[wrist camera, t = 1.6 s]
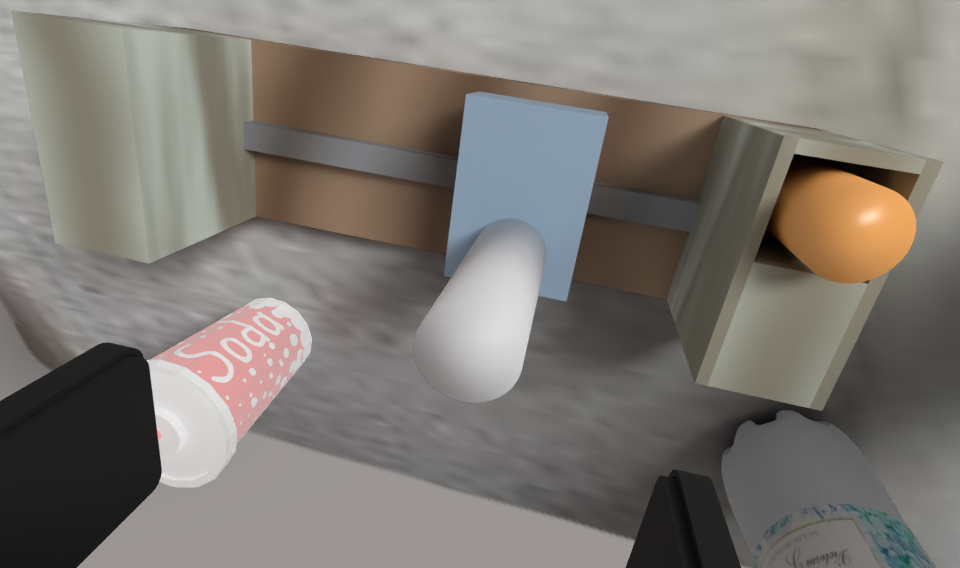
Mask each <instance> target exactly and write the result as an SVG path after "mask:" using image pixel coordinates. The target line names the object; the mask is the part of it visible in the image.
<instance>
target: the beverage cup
mask: <svg viewBox="0 0 960 568" xmlns="http://www.w3.org/2000/svg"><path fill="white" fill-rule="evenodd" d="M311 343H312V337H311V334H310V331H309V327H308V325H307V323H306V322H305V320H304V319H303V318H302V316H301V315H300V314H299V312H298V311H296V310H295V309H294V308H292V307H291V306H289V305H288V304H287V303H285V302H282V301H279V300H276V299H272V298H262V299H255V300H254V301H252V302H250V303H248V304H247V305H245V306H243V307H241V308H240V309H238V310H236V311H234V312H233V313H231V314H229V315H227V316H226V317H224V318H222V319H220V320H219V321H217V322H215V323H213V324H212V325H210V326H208V327H206V328H205V329H203V330H201V331H199V332H198V333H196V334H194V335H192V336H191V337H189V338H187V339H185V340H184V341H182V342H180V343H178V344H177V345H175V346H173V347H171V348H170V349H168V350H166V351H164V352H163V353H161V354H159V355H157V356H156V357H154V358H152V359H150V360H146V361H147V362H148V364H149V368H150V376H151V385H152V393H153V401H154V409H155V417H156V426H157V434H158V442H159V450H160V459H161V467H162V474H161V478H160V481H159V482H160V483H163V484H166V485H169V486H172V487H190V488H191V487H192V488H194V487H195V488H197V487H199V486H201V485H204V484H206V483H208V482H210V481H212V480H214V479H216V477H217V476H218V475H219V474H220V473H221V471H222V470H223V468H224V467H225V466H226V465H227V464H228V462H229V461H230V459H231V458H232V456H233V455H234V453H235V452H236V445H237V443H238V442H239V441H240V440H241V438H242V437H243V436H244V435H245V434H246V432H247V431H248V430H249V429H250V427H251V426H252V425H253V424H254V423H255V421H256V420H257V419H258V418H259V416H260V415H261V414H262V413H263V412H264V410H265V409H266V408H267V407H268V405H269V404H270V403H271V402H272V400H273V399H274V398H275V397H276V396H277V394H278V393H279V392H280V391H281V389H282V388H283V387H284V386H285V385H286V383H287V382H288V381H289V380H290V378H291V377H292V376H293V375H294V374H295V372H296V371H297V370H298V369H299V367H300V366H301V365H302V364H303V362H304V361H305V360H306V358H307V357H308V355H309V354H310V352H311Z"/></svg>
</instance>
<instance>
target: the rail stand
mask: <svg viewBox="0 0 960 568" xmlns="http://www.w3.org/2000/svg"><path fill="white" fill-rule="evenodd" d="M12 17H13V22H14V27H15V33H16V38H17V43H18V48H19V54H20V59H21V64H22V69H23V75H24V80H25V85H26V91H27V96H28V101H29V106H30V112H31V117H32V122H33V128H34V133H35V138H36V143H37V149H38V154H39V159H40V165H41V170H42V175H43V180H44V186H45V191H46V196H47V202H48V207H49V212H50V217H51V223H52V228H53V233H54V239H55V243H57V244H62V245H66V246H71V247H76V248H80V249H85V250H89V251H94V252H98V253H103V254H108V255H112V256H117V257H121V258H126V259H130V260H135V261H140V262H144V263H149V264H150V263H152V262H154V261H156V260H159V259H161V258H163V257H165V256H168V255H170V254H172V253H174V252H177V251H179V250H181V249H184V248H186V247H188V246H190V245H193V244H195V243H197V242H199V241H202V240H204V239H206V238H208V237H211V236H213V235H215V234H217V233H220V232H222V231H224V230H226V229H229V228H231V227H233V226H235V225H238V224H240V223H242V222H244V221H247V220H249V219H251V218H254V217H256V216H257V217H262V218H267V219H272V220H277V221H282V222H287V223H292V224H297V225H302V226H307V227H312V228H317V229H321V230H326V231H331V232H336V233H341V234H346V235H351V236H356V237H361V238H366V239H371V240H376V241H381V242H386V243H391V244H396V245H401V246H406V247H411V248H415V249H420V250H425V251H430V252H435V253H440V254H445V255H446V253H447V245H448V237H449V229H450V221H451V212H452V204H453V196H454V188H455V180H456V172H457V164H458V156H459V148H460V140H461V132H462V123H463V115H464V107H465V99H466V94H469V93H474V92H479V91H480V92H486V93H492V94H498V95H505V96H511V97H517V98H523V99H529V100H535V101H541V102H547V103H553V104H560V105H566V106H572V107H578V108H584V109H590V110H596V111H602V112H607V115H608V117H609V118H608V122H607V127H606V131H605V136H604V140H603V144H602V149H601V153H600V157H599V162H598V166H597V171H596V175H595V179H594V184H593V188H592V192H591V197H590V201H589V205H588V210H587V214H586V219H585V223H584V227H583V232H582V236H581V240H580V245H579V249H578V253H577V258H576V262H575V267H574V271H573V275H572V280H574V281H579V282H584V283H589V284H594V285H599V286H604V287H608V288H613V289H618V290H623V291H628V292H633V293H638V294H643V295H648V296H653V297H658V298H663V299H667V302H668V305H669V308H670V311H671V314H672V317H673V320H674V323H675V326H676V329H677V332H678V335H679V338H680V340H681V343H682V346H683V349H684V352H685V355H686V358H687V361H688V364H689V367H690V370H691V373H692V376H693V379H694V382H695V383H696V384H701V385H706V386H710V387H715V388H719V389H724V390H728V391H733V392H737V393H742V394H747V395H751V396H756V397H760V398H765V399H769V400H774V401H779V402H783V403H788V404H792V405H797V406H801V407H806V408H811V409H815V410H820V411H822V410H823V408H824V406H825V404H826V402H827V400H828V398H829V396H830V394H831V392H832V390H833V388H834V386H835V384H836V382H837V380H838V378H839V376H840V374H841V371H842V369H843V367H844V365H845V363H846V361H847V359H848V357H849V355H850V353H851V351H852V349H853V347H854V345H855V343H856V341H857V339H858V337H859V335H860V333H861V330H862V328H863V326H864V324H865V322H866V320H867V318H868V316H869V314H870V312H871V310H872V308H873V306H874V304H875V302H876V300H877V298H878V296H879V294H880V291H881V289H882V287H883V285H884V283H885V281H886V279H887V277H888V275H889V273H890V271H891V270H889V271H888V272H886V273H885V274H883V275H881V276H879V277H876V278H874V279H871V280H868V281H865V282H860V283H851V284H846V283H836V282H832V281H829V280H826V279H824V278H822V277H820V276H818V275H817V274H815V273H814V272H813V271H812V270H811V269H809V268H808V267H807V266H806V265H805V264H804V263H803V262H802V261H801V260H800V259H798V258H797V257H796V256H795V255H794V254H793V253H792V252H791V251H790V250H788V249H787V248H786V247H785V246H784V245H783V244H782V243H781V242H780V241H778V240H777V239H776V238H775V237H774V236H773V235H772V234H771V233H770V232H768V231H767V230H766V228H767V225H768V222H769V219H770V217H771V214H772V211H773V209H774V206H775V203H776V201H777V198H778V195H779V193H780V190H781V187H782V185H783V182H784V179H785V177H786V174H787V171H788V169H789V166H790V163H791V162H795V161H800V160H816V161H820V162H823V163H826V164H828V165H831V166H833V167H836V168H838V169H841V170H843V171H846V172H848V173H851V174H853V175H856V176H858V177H861V178H863V179H866V180H868V181H871V182H873V183H876V184H879V185H881V186H884V187H886V188H889V189H891V190H893V191H895V192H897V193H899V194H900V195H901V196H903V197H904V198H905V199H906V200H907V201H908V202H909V204H910V205H911V207H912V209H913V211H914V214H915V218H917V216H918V214H919V212H920V209H921V207H922V205H923V203H924V201H925V199H926V197H927V195H928V193H929V191H930V189H931V187H932V185H933V183H934V181H935V179H936V177H937V175H938V173H939V170H940V168H941V166H942V164H943V162H942V161H938V160H934V159H930V158H927V157H923V156H919V155H915V154H911V153H907V152H904V151H900V150H896V149H892V148H888V147H885V146H881V145H877V144H873V143H869V142H865V141H862V140H858V139H854V138H850V137H846V136H842V135H839V134H835V133H831V132H827V131H823V130H820V129H815V128H809V127H803V126H797V125H790V124H784V123H778V122H772V121H765V120H759V119H753V118H746V117H740V116H734V115H728V114H721V113H715V112H709V111H703V110H696V109H690V108H684V107H678V106H671V105H665V104H659V103H652V102H646V101H640V100H634V99H627V98H621V97H615V96H609V95H602V94H596V93H590V92H584V91H577V90H571V89H565V88H558V87H552V86H546V85H540V84H533V83H527V82H521V81H515V80H508V79H502V78H496V77H489V76H483V75H477V74H471V73H464V72H458V71H452V70H446V69H439V68H433V67H427V66H421V65H414V64H408V63H402V62H395V61H389V60H383V59H377V58H370V57H364V56H358V55H352V54H345V53H339V52H333V51H327V50H320V49H314V48H308V47H301V46H295V45H289V44H283V43H276V42H270V41H264V40H258V39H251V38H245V37H239V36H233V35H226V34H220V33H214V32H207V31H201V30H195V29H187V28H177V27H167V26H158V25H148V24H138V23H128V22H118V21H108V20H98V19H88V18H79V17H69V16H59V15H49V14H39V13H29V12H19V11H12Z"/></svg>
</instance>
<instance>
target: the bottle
mask: <svg viewBox="0 0 960 568" xmlns="http://www.w3.org/2000/svg"><path fill="white" fill-rule="evenodd" d="M721 471H722V478H723V482H724V487H725V491H726V495H727V498H728V500H729V503H730V506H731V509H732V512H733V514H734V516H735V519H736V521H737V523H738V526H739V528H740V530H741V533H742V535H743V537H744V540H745V542H746V544H747V546H748V549H749V551H750V553H751V556H752V559H753V561H754V564H755V567H756V568H936V566H935V565H934V563H933V562H932V561H931V559H930V558H929V556H928V555H927V553H926V552H925V551H924V549H923V548H922V546H921V545H920V543H919V542H918V540H917V539H916V538H915V536H914V535H913V533H912V532H911V531H910V530H909V528H908V527H907V525H906V524H905V522H904V520H903V519H902V517H901V515H900V514H899V512H898V510H897V508H896V507H895V505H894V503H893V501H892V500H891V498H890V496H889V494H888V493H887V491H886V489H885V487H884V486H883V484H882V482H881V481H880V479H879V477H878V476H877V474H876V472H875V471H874V469H873V468H872V466H871V465H870V463H869V462H868V460H867V459H866V457H865V456H864V454H863V453H862V452H861V451H860V450H859V448H858V447H857V446H856V445H855V444H854V443H853V441H852V440H851V439H850V438H849V437H848V436H847V435H846V434H845V433H844V432H843V431H841V430H840V429H839V428H838V427H836V426H835V425H833V424H831V423H829V422H826V421H812V420H810V419H807V418H805V417H803V416H802V415H801V414H799V413H797V412H795V411H792V410H782V411H778V412H777V413H776V420H775V421H772V422H769V423H766V424H763V425H756V424H755V423H754V422H753V421H746V422H744V423H743V424H742V425H740V426H739V427H738V429H737V432H736V436H735V440H734V444H733V446H732V447H729V448H727V449H726V450H725V451H724V453H723V456H722V463H721Z"/></svg>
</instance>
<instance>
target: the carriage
mask: <svg viewBox="0 0 960 568" xmlns="http://www.w3.org/2000/svg"><path fill="white" fill-rule="evenodd" d="M608 118H609V117H608V115H607V112H602V111H596V110H590V109H584V108H578V107H572V106H566V105H560V104H553V103H547V102H541V101H535V100H529V99H523V98H517V97H511V96H505V95H498V94H492V93H486V92H480V91H479V92H474V93H469V94H466V99H465V107H464V115H463V123H462V132H461V140H460V148H459V156H458V164H457V172H456V180H455V188H454V196H453V204H452V212H451V221H450V229H449V237H448V245H447V253H446V261H445V269H444V276H445V277H450V278H451V279H450V280H449V282H448V283H447V285H446V286H445V288H444V289H443V291H442V292H441V294H440V295H439V297H438V298H437V300H436V301H435V303H434V304H433V306H432V307H431V309H430V310H429V312H428V313H427V315H426V317H425V318H424V320H423V321H422V323H421V324H420V326H419V328H418V329H417V331H416V334H415V338H414V343H413V352H414V358H415V362H416V365H417V367H418V369H419V371H420V373H421V375H422V376H423V377H424V379H425V380H426V381H427V382H428V383H429V384H430V385H431V386H432V387H433V388H434V389H435V390H437V391H438V392H440V393H441V394H443V395H445V396H447V397H449V398H451V399H454V400H457V401H461V402H467V403H482V402H488V401H491V400H494V399H496V398H499V397H501V396H502V395H504V394H505V393H507V392H508V391H509V390H510V389H511V388H512V387H513V386H514V385H515V383H516V382H517V380H518V378H519V376H520V374H521V371H522V367H523V362H524V358H525V353H526V349H527V344H528V340H529V335H530V331H531V326H532V322H533V317H534V313H535V308H536V304H537V299H538V296H542V297H547V298H552V299H556V300H561V301H566V302H567V297H568V293H569V288H570V284H571V280H572V275H573V271H574V267H575V262H576V258H577V253H578V249H579V245H580V240H581V236H582V232H583V227H584V223H585V219H586V214H587V210H588V205H589V201H590V197H591V192H592V188H593V184H594V179H595V175H596V171H597V166H598V162H599V157H600V153H601V149H602V144H603V140H604V136H605V131H606V127H607V122H608Z"/></svg>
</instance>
